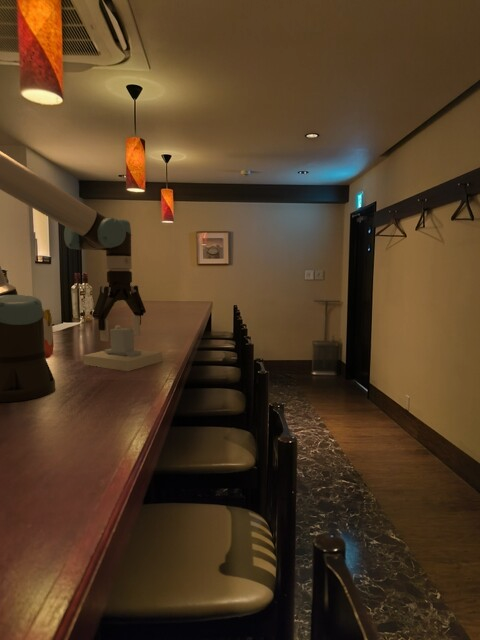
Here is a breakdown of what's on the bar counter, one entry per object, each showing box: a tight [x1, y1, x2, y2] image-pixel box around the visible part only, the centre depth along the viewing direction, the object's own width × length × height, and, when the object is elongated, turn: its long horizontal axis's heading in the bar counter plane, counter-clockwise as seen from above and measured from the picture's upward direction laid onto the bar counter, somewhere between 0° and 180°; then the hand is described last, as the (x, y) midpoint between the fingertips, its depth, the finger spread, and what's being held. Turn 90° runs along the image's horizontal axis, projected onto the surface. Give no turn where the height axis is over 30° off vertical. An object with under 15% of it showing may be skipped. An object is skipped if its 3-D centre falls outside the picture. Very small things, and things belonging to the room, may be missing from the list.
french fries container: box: [43, 308, 55, 358], centre depth 147 cm, size 5×11×18 cm, turn 14°
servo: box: [104, 324, 141, 357], centre depth 134 cm, size 4×12×12 cm, turn 60°
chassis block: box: [83, 348, 163, 372], centre depth 134 cm, size 15×19×3 cm
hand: (121, 338), depth 133 cm, fingers open, 13 cm apart
